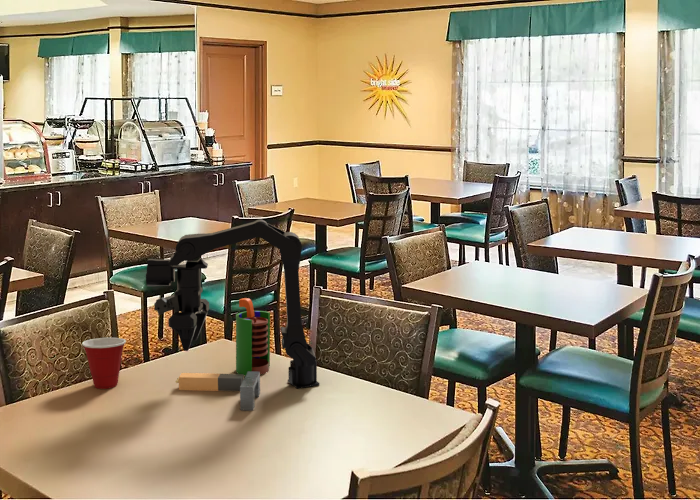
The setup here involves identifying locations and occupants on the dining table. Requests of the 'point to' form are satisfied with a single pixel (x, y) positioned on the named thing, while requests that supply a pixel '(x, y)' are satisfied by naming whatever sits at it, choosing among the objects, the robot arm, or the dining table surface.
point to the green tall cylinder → (252, 339)
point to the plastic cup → (104, 360)
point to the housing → (249, 390)
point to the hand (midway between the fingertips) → (190, 345)
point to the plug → (210, 381)
